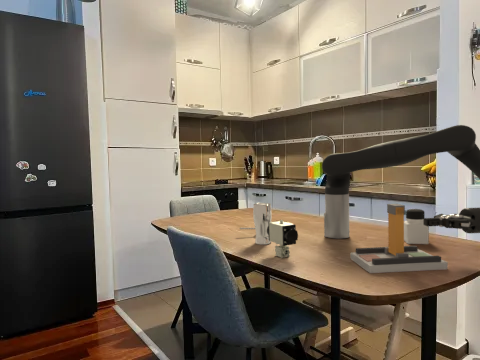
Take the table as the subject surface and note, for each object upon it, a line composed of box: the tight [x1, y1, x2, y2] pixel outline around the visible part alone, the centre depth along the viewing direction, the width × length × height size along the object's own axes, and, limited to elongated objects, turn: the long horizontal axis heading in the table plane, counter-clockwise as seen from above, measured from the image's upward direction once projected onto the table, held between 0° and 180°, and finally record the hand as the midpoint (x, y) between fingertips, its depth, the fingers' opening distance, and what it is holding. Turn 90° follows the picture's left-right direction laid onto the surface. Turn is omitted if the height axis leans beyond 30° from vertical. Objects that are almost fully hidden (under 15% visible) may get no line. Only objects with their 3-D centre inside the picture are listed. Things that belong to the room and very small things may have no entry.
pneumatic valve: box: [267, 219, 299, 259], centre depth 115 cm, size 6×12×12 cm, turn 28°
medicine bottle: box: [404, 208, 430, 245], centre depth 128 cm, size 7×7×12 cm
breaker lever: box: [386, 203, 406, 256], centre depth 103 cm, size 3×5×15 cm, turn 3°
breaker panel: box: [350, 246, 449, 274], centre depth 103 cm, size 22×14×4 cm, turn 93°
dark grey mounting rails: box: [355, 245, 442, 265], centre depth 103 cm, size 19×13×1 cm
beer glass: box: [252, 202, 273, 246], centre depth 134 cm, size 7×7×15 cm
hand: (425, 222), depth 103 cm, fingers closed
